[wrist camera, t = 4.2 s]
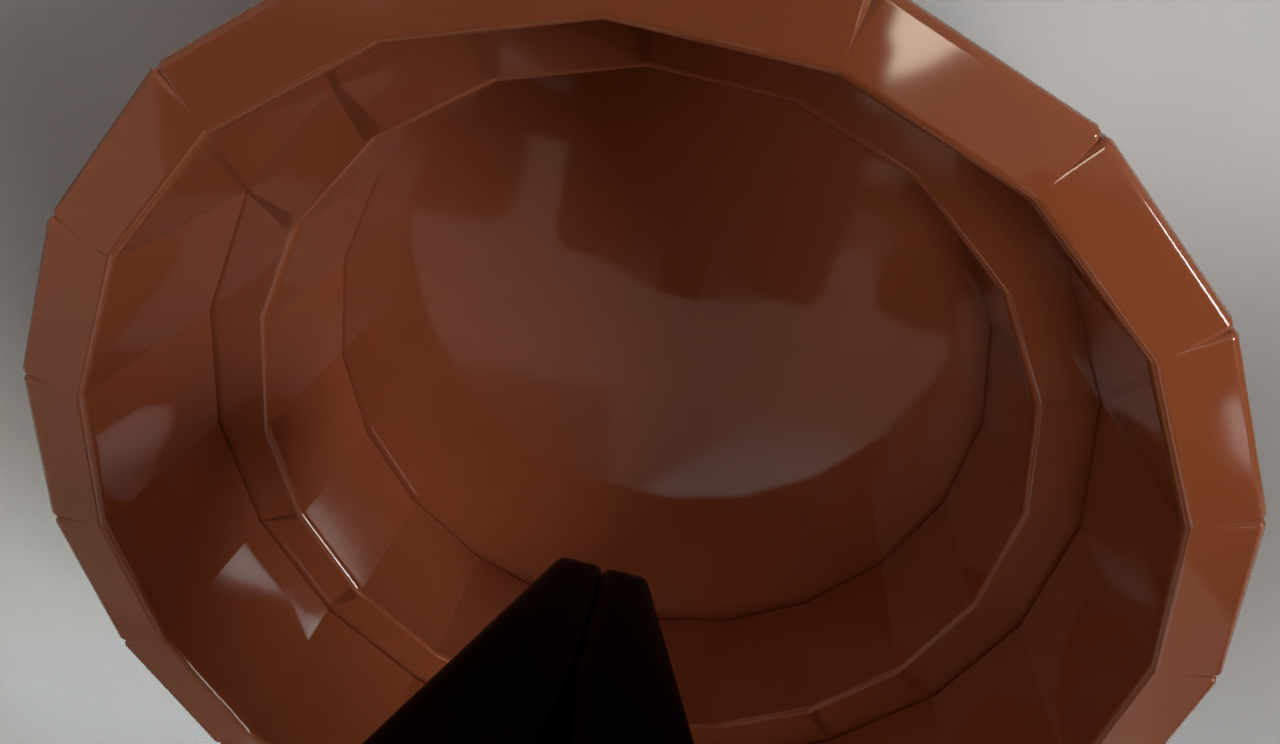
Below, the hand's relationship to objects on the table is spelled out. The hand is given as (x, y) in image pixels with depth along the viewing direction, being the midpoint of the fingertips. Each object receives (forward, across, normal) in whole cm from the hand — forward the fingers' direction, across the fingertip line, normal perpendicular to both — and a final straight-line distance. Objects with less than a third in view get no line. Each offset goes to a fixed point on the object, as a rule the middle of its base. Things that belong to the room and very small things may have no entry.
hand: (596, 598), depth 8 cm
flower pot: (+5, 0, 0) cm, 5 cm away
